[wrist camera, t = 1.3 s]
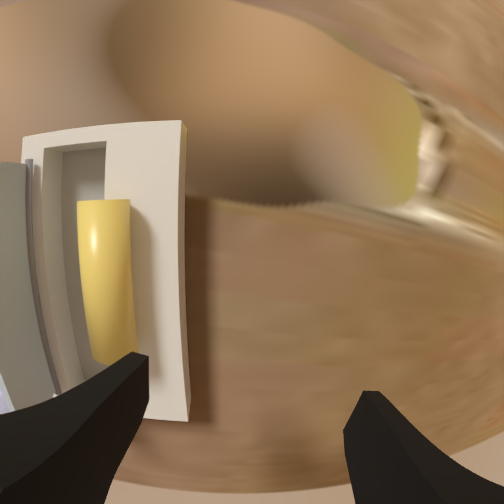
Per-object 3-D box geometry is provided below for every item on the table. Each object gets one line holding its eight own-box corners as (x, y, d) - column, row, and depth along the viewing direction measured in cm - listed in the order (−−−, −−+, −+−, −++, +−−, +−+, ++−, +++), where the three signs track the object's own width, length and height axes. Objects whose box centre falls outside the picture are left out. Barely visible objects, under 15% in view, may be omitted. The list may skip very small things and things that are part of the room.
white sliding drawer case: (191, 398, 23) (188, 421, 20) (68, 383, 22) (54, 402, 19) (187, 130, 19) (181, 120, 16) (44, 142, 18) (23, 137, 15)
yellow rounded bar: (148, 348, 18) (119, 370, 15) (112, 338, 19) (82, 356, 16) (140, 198, 16) (104, 200, 13) (102, 199, 17) (66, 201, 14)
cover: (30, 437, 13) (20, 434, 12) (63, 391, 18) (53, 389, 18) (-24, 152, 10) (-34, 155, 9) (35, 159, 15) (25, 160, 15)
